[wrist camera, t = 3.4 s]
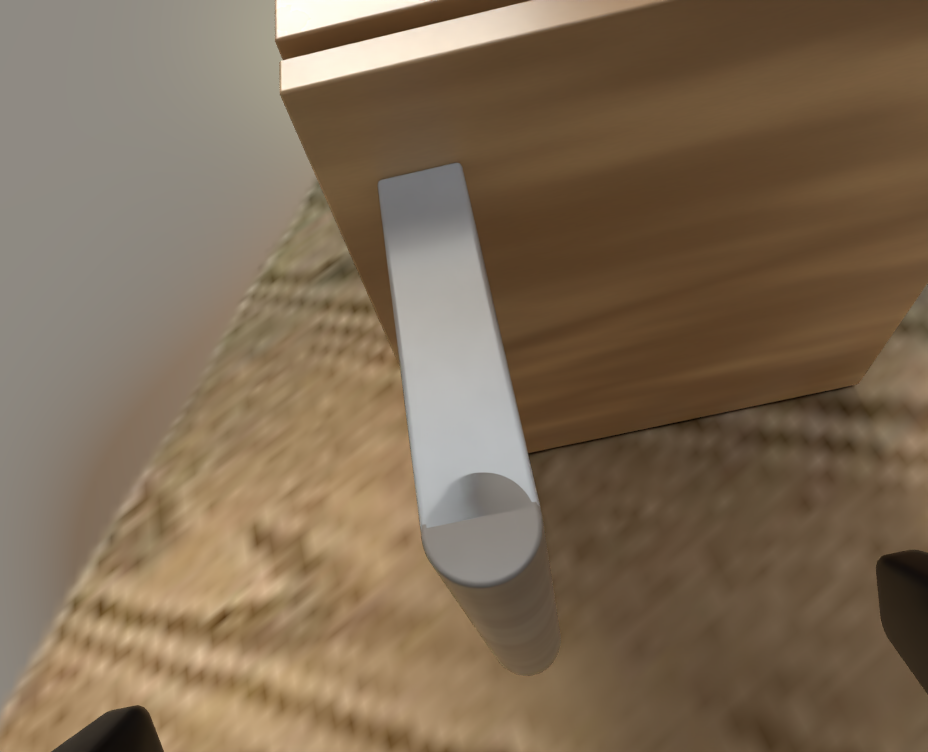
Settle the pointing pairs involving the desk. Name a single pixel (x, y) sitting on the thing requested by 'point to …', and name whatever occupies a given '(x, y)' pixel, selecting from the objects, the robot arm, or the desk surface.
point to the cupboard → (361, 20)
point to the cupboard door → (614, 236)
